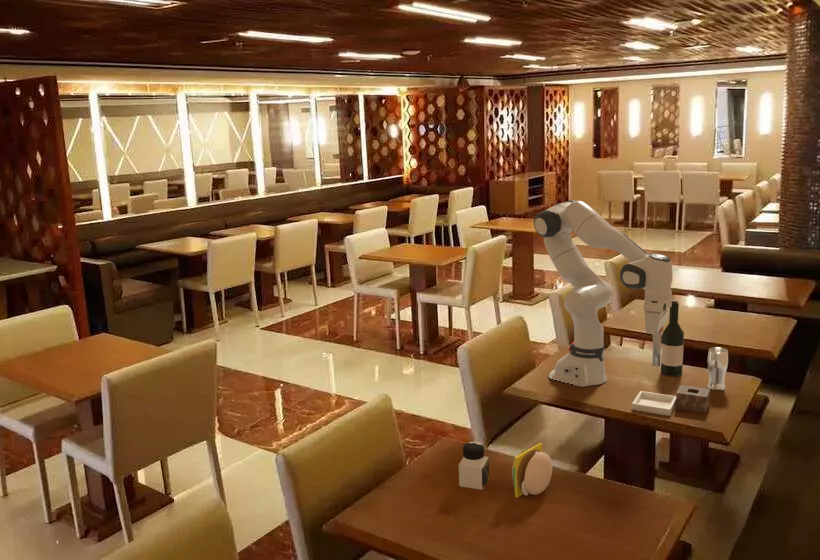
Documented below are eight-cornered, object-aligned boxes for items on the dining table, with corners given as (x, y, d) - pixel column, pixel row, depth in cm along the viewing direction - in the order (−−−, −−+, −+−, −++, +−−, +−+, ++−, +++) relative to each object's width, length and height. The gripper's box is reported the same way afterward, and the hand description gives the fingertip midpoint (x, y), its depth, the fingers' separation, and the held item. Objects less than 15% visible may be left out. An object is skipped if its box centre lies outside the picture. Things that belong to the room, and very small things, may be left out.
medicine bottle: (482, 490, 203) (481, 451, 200) (459, 486, 205) (457, 448, 203) (489, 478, 209) (488, 441, 207) (466, 475, 212) (465, 438, 209)
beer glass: (722, 384, 272) (724, 347, 268) (729, 391, 265) (731, 353, 262) (703, 384, 272) (705, 347, 269) (709, 391, 266) (711, 353, 262)
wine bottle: (656, 372, 286) (659, 300, 280) (667, 367, 292) (670, 296, 285) (675, 378, 280) (678, 304, 274) (686, 372, 285) (689, 300, 279)
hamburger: (532, 504, 194) (532, 464, 192) (508, 494, 200) (507, 454, 198) (557, 487, 202) (557, 448, 200) (534, 478, 208) (533, 440, 206)
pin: (649, 366, 250) (650, 327, 247) (651, 362, 254) (652, 324, 251) (661, 367, 248) (662, 328, 245) (663, 364, 252) (664, 325, 249)
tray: (631, 410, 252) (631, 403, 252) (640, 397, 263) (640, 390, 263) (670, 416, 246) (670, 409, 245) (677, 402, 257) (677, 396, 256)
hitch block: (675, 408, 252) (676, 392, 250) (679, 400, 258) (680, 385, 257) (705, 413, 247) (706, 397, 245) (709, 405, 253) (710, 389, 252)
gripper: (655, 293, 256) (653, 330, 259) (642, 307, 239) (641, 346, 242) (673, 294, 253) (672, 332, 256) (661, 309, 236) (660, 348, 239)
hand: (656, 339), depth 249 cm, fingers closed on pin, 3 cm apart
